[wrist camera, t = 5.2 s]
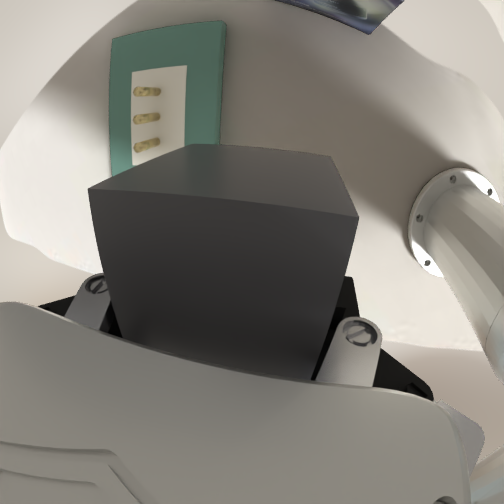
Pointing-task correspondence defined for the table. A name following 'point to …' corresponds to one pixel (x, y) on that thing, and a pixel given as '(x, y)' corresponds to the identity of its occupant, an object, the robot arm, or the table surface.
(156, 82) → the board
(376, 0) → the small box
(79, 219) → the table surface
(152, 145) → the header pins
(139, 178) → the block
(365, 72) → the table surface
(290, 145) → the table surface
